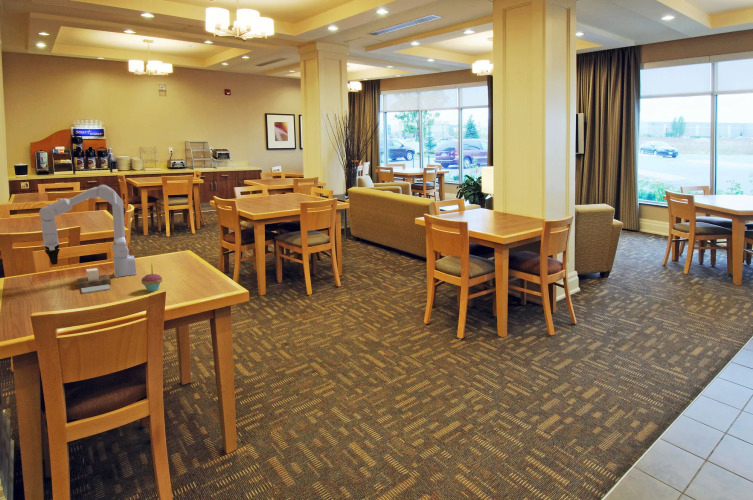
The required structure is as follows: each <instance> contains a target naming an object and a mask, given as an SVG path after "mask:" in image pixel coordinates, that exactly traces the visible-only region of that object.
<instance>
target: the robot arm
mask: <svg viewBox="0 0 753 500" xmlns="http://www.w3.org/2000/svg"><path fill="white" fill-rule="evenodd" d="M98 198H100V199H101V200H103V201H106V202H108V203H109V204H110V205H111V208H112V221H113V222H112V223H113V244H112V246H111V250H112V252H113V253H114V254H113V256H112V258H113V259H112V260H113V268H114V272H113V275H114V277H115V278H119V277H127V276H132V275H133V276H134V275H137V273H138V272H137V266H136V260H135V256H134V255H130V254H129V252H130V250H129V248H128V246H127V240H126V231H125V230H126V229H125V217H124V216H125V213H124V211H125V210H124V200H123V199H122V198H121V197H120V196H119V194H118V193H117V192H116V191H115V189H113V188H112V187H110V186H108V185H107V184H100V185H98V186H94V187H92V188H88V189H86V190H84V191H83V192H81V193H78V194H77V195H75V196H73V197H70V198H65V197H64V198H58V199H57V201H54V202H53V203H51V204H50V203H48V204H47V206H42V207H40V209H39V212H38V215H39V218H40V223H41V224H40V227H41V233H42V239H43V242H42V243H40V246H42V247H44V248H45V250H44V252H45V254H46V255H47V257H48V259H49V261H50V264H51V265H52V266H54V265H58V258H59V257H58V256H59V254H60V250H61V249H60V241H59V236H58V229H57V223H56V221H55V217H57V216H60V215H63V214H64V213H66V212H69V211H71V210H72V209H73V206H75V205H77V204H79V203H82V202H84V201H86V200H88V199H97V200H98Z"/></svg>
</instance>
